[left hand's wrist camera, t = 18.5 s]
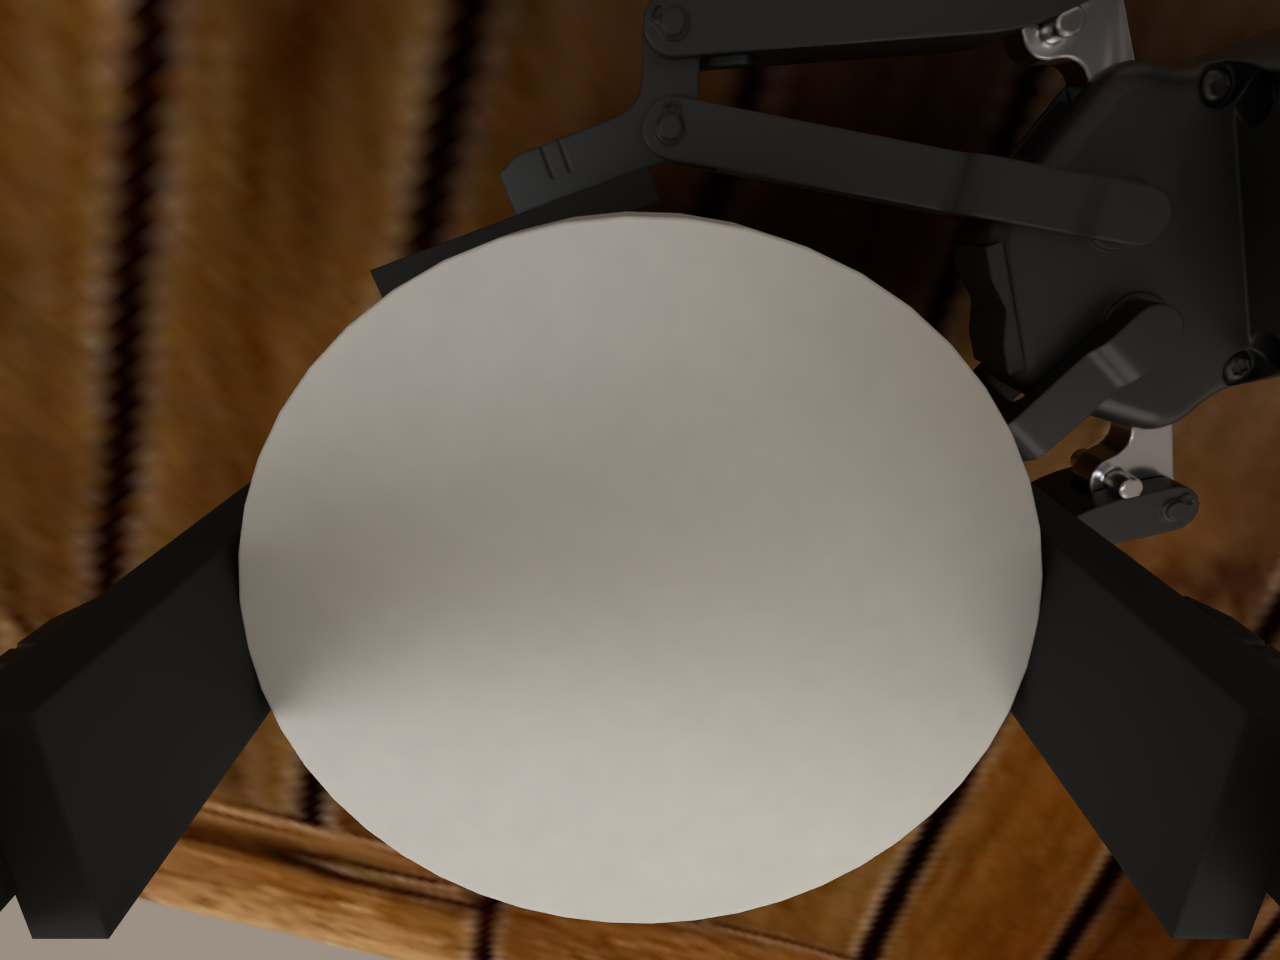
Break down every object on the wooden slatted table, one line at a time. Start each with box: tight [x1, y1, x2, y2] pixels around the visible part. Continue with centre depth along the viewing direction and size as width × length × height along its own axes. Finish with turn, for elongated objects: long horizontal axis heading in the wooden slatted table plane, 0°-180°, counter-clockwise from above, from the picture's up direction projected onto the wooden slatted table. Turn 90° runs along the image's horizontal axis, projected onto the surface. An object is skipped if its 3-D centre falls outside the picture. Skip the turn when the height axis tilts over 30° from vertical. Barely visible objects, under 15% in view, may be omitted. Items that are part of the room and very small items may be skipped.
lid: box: [238, 211, 1043, 923], centre depth 11 cm, size 10×10×2 cm
